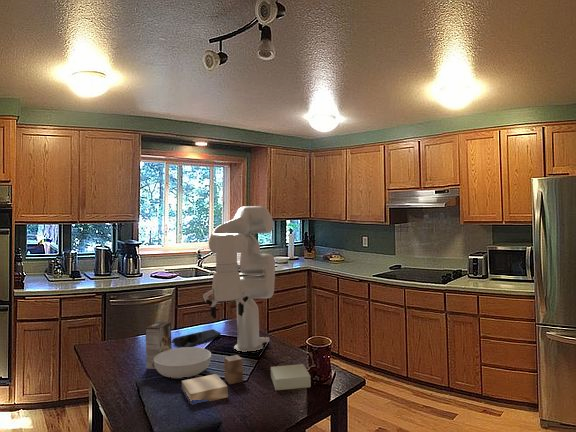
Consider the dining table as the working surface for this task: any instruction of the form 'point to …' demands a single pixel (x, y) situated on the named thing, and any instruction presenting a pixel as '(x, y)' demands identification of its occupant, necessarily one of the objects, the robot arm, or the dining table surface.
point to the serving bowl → (182, 362)
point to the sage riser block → (290, 377)
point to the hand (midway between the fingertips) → (227, 316)
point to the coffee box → (157, 341)
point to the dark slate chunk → (195, 338)
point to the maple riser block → (205, 388)
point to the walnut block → (233, 369)
